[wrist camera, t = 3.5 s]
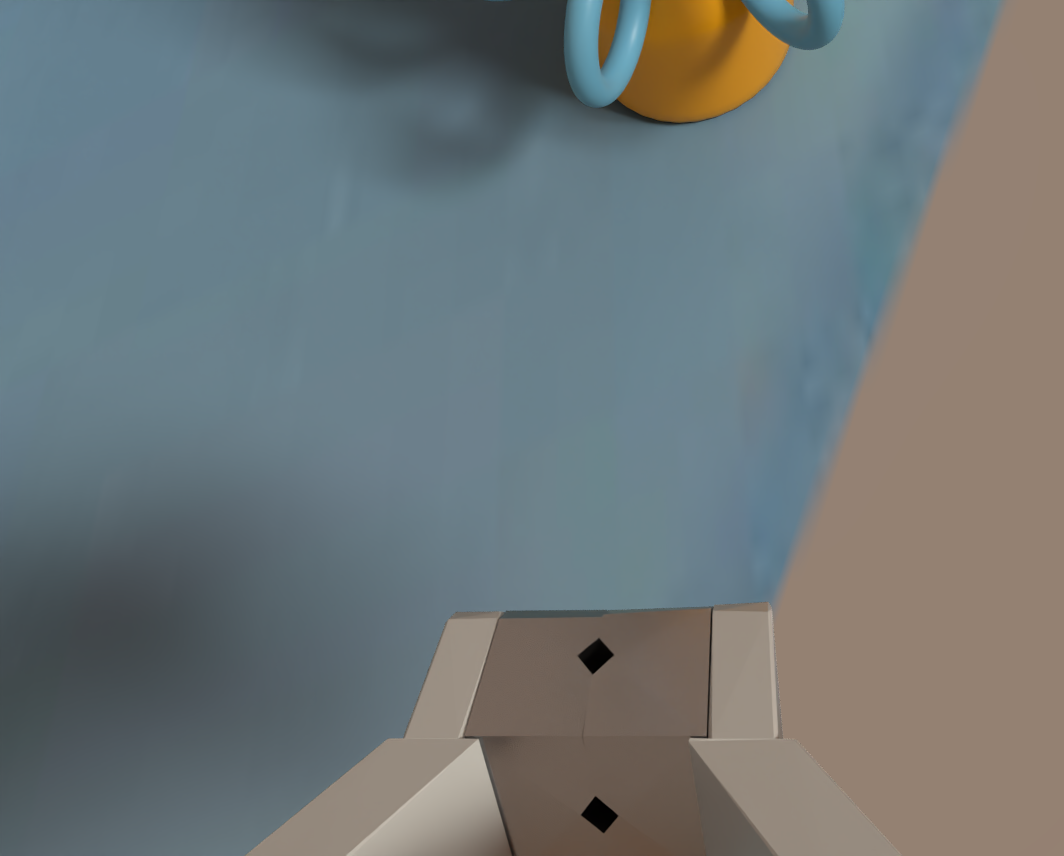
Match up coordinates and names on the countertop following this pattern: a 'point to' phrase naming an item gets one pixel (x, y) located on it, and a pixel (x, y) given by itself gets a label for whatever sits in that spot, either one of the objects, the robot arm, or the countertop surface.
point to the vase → (686, 51)
